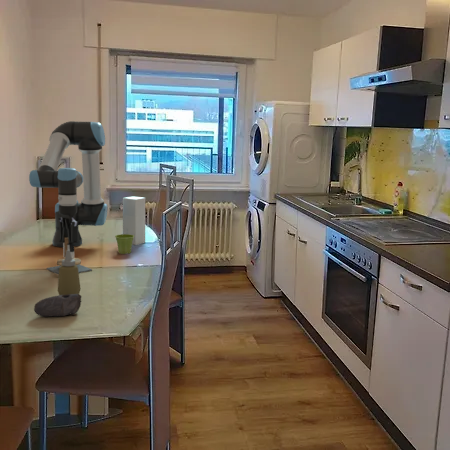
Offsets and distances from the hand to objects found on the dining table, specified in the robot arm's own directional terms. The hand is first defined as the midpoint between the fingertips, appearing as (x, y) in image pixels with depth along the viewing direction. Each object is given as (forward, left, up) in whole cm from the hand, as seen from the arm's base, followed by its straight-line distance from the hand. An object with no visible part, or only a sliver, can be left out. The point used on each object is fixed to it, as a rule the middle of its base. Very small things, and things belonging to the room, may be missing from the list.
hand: (68, 257), depth 222 cm
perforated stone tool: (+48, -30, -6) cm, 57 cm away
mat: (0, 0, -5) cm, 5 cm away
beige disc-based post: (0, 0, -2) cm, 2 cm away
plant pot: (-12, +37, -6) cm, 39 cm away
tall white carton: (-28, +54, -6) cm, 61 cm away
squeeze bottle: (+35, -19, -6) cm, 40 cm away
